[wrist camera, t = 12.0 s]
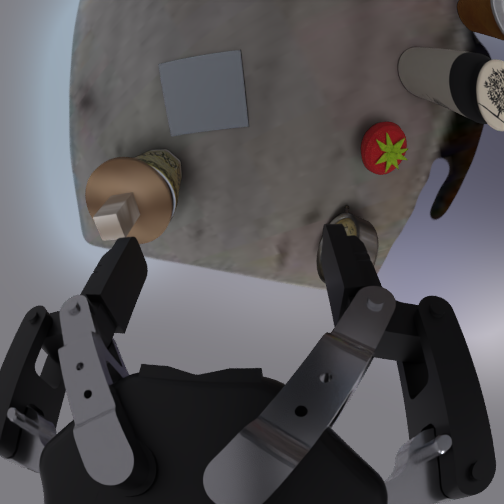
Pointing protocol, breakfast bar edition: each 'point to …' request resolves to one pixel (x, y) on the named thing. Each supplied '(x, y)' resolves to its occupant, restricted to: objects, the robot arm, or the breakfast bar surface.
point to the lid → (129, 200)
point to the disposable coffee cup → (483, 16)
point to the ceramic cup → (165, 170)
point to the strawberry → (383, 147)
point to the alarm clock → (353, 227)
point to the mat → (204, 93)
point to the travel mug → (456, 82)
